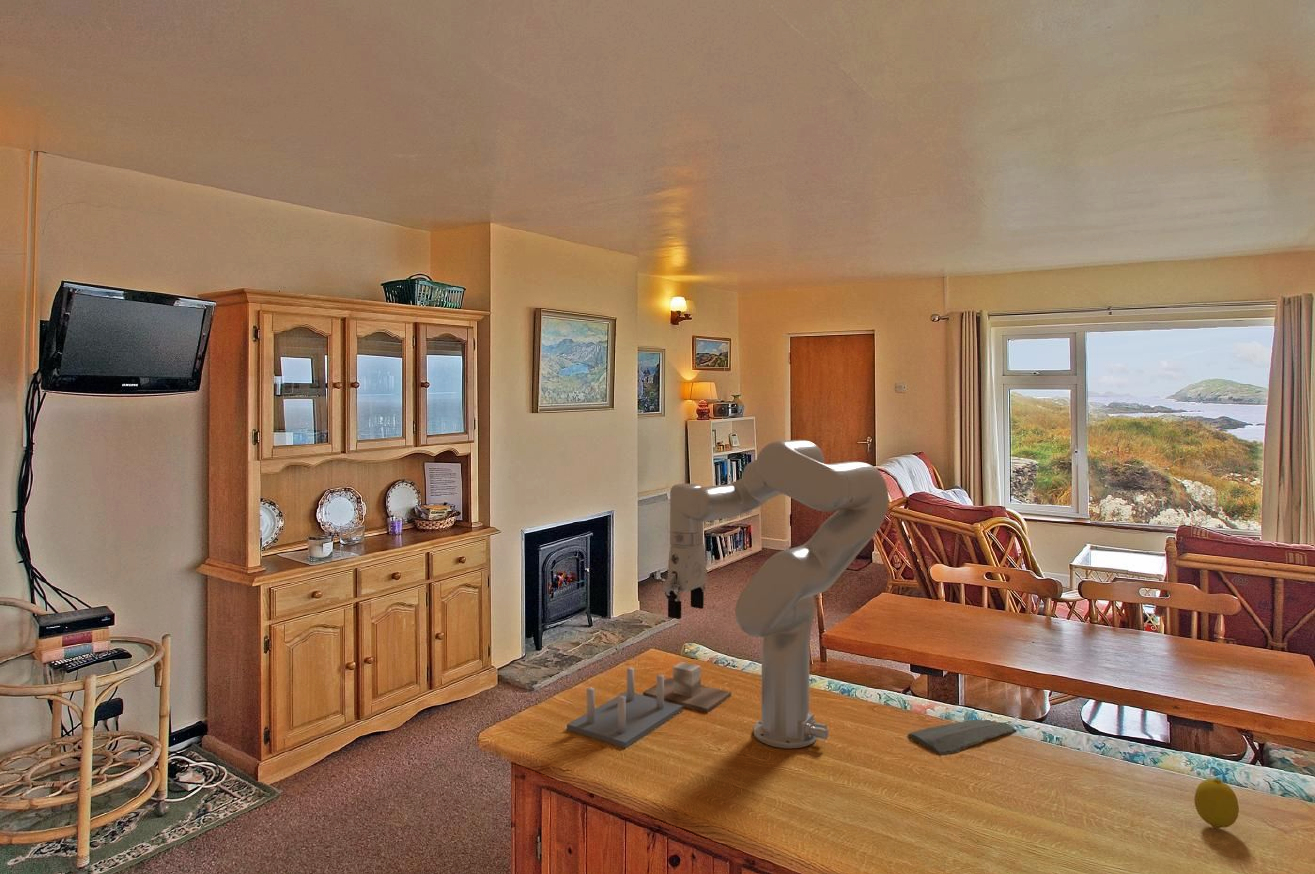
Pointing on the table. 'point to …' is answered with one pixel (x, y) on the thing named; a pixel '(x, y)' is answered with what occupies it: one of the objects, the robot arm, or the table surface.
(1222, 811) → the lemon
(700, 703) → the shelf board
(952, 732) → the stone slab
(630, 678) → the peg stand
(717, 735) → the table surface
